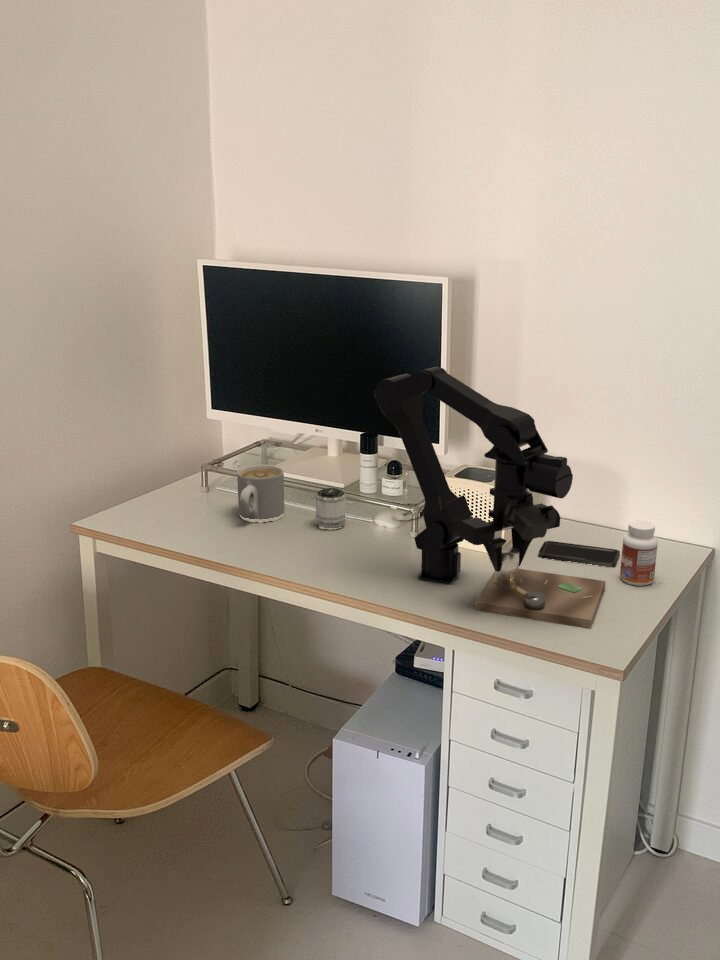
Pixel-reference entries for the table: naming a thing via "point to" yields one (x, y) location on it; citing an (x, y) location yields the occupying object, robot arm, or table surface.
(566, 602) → the wooden serving board
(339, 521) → the glass jar
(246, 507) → the coffee mug
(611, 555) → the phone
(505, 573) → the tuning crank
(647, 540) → the pill bottle
